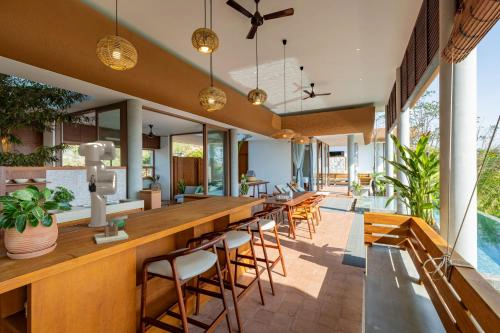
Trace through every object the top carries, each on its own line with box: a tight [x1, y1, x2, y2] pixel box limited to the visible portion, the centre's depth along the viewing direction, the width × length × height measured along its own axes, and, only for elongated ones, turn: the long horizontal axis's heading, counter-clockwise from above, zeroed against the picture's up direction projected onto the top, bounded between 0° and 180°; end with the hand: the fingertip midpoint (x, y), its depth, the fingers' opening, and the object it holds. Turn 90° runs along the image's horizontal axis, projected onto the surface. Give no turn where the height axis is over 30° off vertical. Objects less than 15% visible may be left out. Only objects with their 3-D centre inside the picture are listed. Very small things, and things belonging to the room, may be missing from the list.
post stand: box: [94, 222, 129, 245], centre depth 142 cm, size 16×16×10 cm
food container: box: [107, 215, 129, 231], centre depth 157 cm, size 12×6×10 cm, turn 101°
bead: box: [104, 224, 118, 237], centre depth 142 cm, size 6×6×6 cm
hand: (92, 191), depth 145 cm, fingers open, 9 cm apart
